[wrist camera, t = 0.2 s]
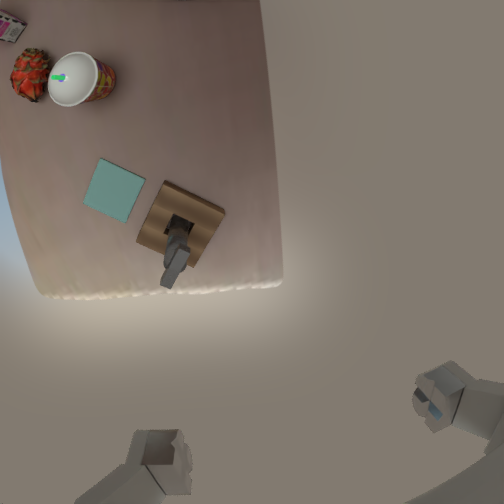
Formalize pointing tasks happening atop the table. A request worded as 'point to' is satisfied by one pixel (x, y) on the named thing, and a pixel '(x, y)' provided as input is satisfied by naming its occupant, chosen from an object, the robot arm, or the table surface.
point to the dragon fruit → (30, 74)
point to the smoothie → (79, 79)
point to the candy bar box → (10, 27)
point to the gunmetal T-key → (175, 251)
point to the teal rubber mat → (113, 190)
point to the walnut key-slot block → (186, 207)
